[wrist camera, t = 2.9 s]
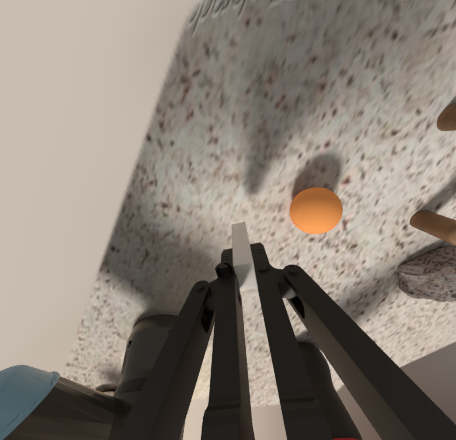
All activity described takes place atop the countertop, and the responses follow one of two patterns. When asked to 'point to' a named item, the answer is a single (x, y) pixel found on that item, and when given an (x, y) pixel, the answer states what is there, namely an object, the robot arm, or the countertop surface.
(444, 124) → the post
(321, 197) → the ball
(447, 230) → the post
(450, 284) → the rock
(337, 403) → the cola bottle
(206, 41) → the countertop surface
